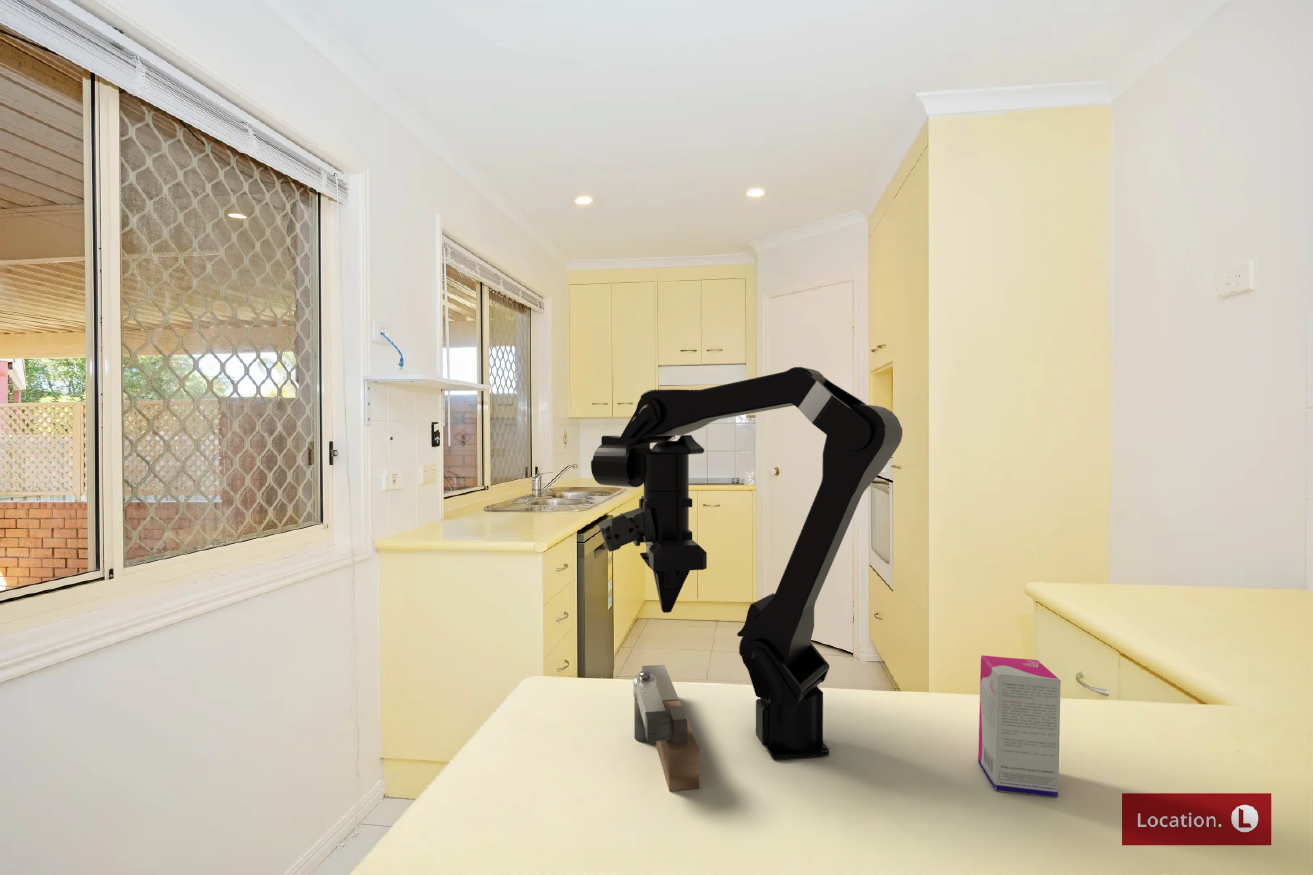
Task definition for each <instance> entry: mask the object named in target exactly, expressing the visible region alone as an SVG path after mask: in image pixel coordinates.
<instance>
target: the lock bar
mask: <svg viewBox="0 0 1313 875" xmlns="http://www.w3.org/2000/svg"><path fill="white" fill-rule="evenodd" d="M632 684H633V689H632V690H633V693H632V694H633V698H636V699H637V701H638V704H639V708H640V712H641V715H642V719H643V723H644V726H645V735H646V738H647V742H646V743H650V742H655V741H664V740H670V718H669V715H668V712H667V711H665V708H664V705H663V702H662V700H661V697H660V694H659V691H658V689H657V686H656V677H655V676H654V675H652V674H650V672H649V671H642V670H641V671H639V674H636V675H634V676H633V682H632Z"/></svg>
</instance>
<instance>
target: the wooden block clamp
mask: <svg viewBox="0 0 1313 875" xmlns="http://www.w3.org/2000/svg"><path fill="white" fill-rule="evenodd" d="M641 671H649V672H650V674H652V675H654V676H655V677H656V686H657V689H658V691H659V694H660V697H661V700H662V702H663V705H664V708H665V711H667V712H668V715H669V718H670V740H664V741H654V742H655V746H656V750H657V753H658V756H659V760H660V763H661V766H662V771H663V774H664V777H665V781H666V785H667V789H668V791H669V792H672V791H673V792H676V791H685V790H686V791H687V790H696V789H697V790H698V789H700V747H699V744H698V741H697V739H696V736H695V735H694V732H693V730H692V727H691V725H690V723H689V720H688V717H687V715H686V713H685V710H684V707H683V705H682V703H681V700H680V699H679V696H678V694H677V692H676V689H675V686H674V684H673V682H672V680H671V677H670V675H669V673H668V670H667V668H666V665H665V664H652V665H642V666H641ZM633 698H634V697H633ZM633 703H634V708H633V710H634V711H633V712H634V718H633V719H634V721H633V722H634V723H633V724H634V727H633V728H634V729H633V730H634V739H635V741H637V742H639V743H648V742H647V738H646V735H645V726H644V723H643V719H642V715H641V712H640V708H639V704H638V701H637V699H636V698H634V702H633Z"/></svg>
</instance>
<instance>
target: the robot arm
mask: <svg viewBox="0 0 1313 875" xmlns="http://www.w3.org/2000/svg"><path fill="white" fill-rule="evenodd" d="M794 406H795V407H796V408H797V409H798V410H799V411H800V413H802V414H803V416H804V417H805V418H806V419H807V420H808V421H809V422H810V423H811V424H812V425H814V427H815V428H817V429H818V430H820V431H821V432H823V434H825V435H826V436H825V440H824V441H825V442H824V446H823V449H822V450H823V451H822V468H821V470H822V472H821V473H822V478H821V482H820V485H819V487H818V490H817V492H816V494H815V497H814V498H813V501H812V503H811V506H810V509H809V511H808V513H807V516H806V519H805V520H804V524H803V525H802V529H801V530H800V533H799V536H798V538H797V541H796V542H795V545H794V547H793V549H792V553H791V554H790V557H789V560H788V562H787V565H786V567H785V568H784V571H783V573H782V577H781V579H780V581H779V584H778V586H777V588H776V591H775V592H774V593H770V594H769V595H767V596H765V597H762V598H760V599H758V600H757V601H754V602H753V603H751V604H749V605H750V606H749V608H748V609H747V612H746V619H745V622H744V624H743V626H742V628H741V629H740V630H739V631H738V632H737V634H736V635H737V637H741V639H740V642H739V645H738V654H739V656H740V657H741V660H742V662H743V664H744V666H745V668H746V669H747V671H748V674H749V678H750V681H751V684H752V687H753V691H754V693H755V696H756V697H757V699H756V700H755V735H756V737H757V739H758V740H759V741H760V743H761V745H762V746H763V747H764V748H765V751H767V754H768V755H769V756H770V758H771V759H773V760H782V759H783V760H784V759H786V760H787V759H797V758H799V759H800V758H809V757H823V756H829V755H830V748H829V747H828V746H827V745H826V743H825V742H824V692H823V691H822V690H821V689H820V688H819V685H820V684H821V683H824V682H825V681H826V678H827V675H828V673H829V670H830V664H829V662H828V661H827V660H826V659H825V658H824V657H823V656H822V654H821V653H820V652H819V651H818V649H817V648H816V647H815V645H813V643H812V642H811V641H812V638H813V637H812V636H813V633H814V628H815V606H816V602H817V600H818V598H819V594H820V592H821V591H822V588H823V586H824V583H825V581H826V579H827V576H828V575H829V572H830V570H831V567H832V565H833V563H834V561H835V559H836V556H837V553H838V551H839V550H840V546H841V545H842V542H843V540H844V537H845V535H846V533H847V531H848V528H849V527H850V524H851V521H852V519H853V517H854V514H855V512H856V509H857V508H858V506H859V503H860V500H861V498H862V497H863V494H864V492H865V491H866V490H867V489H868V488H869V487H870V485H871V484H872V483H873V482H874V480H875V479H876V478H877V477H878V476H879V475H880V473H881V472H883V469H885V467H886V465H887V464H888V463H889V461H890V459H891V458H892V457H893V455H894V454H895V452H896V451H897V449H898V448H899V446H900V444H901V442H902V439H903V428H902V425H901V423H900V420H899V418H898V416H896V414H895V413H893V411H892V410H890V409H888V408H886V407H884V406H878V405H872V404H866V403H865V402H864V401H863V400H861V399H860V398H858V397H856V395H855V396H854V394H851V393H850V392H848V391H846V390H845V389H843V388H842V387H840V386H838V385H837V384H835V383H833V382H832V381H830V380H829V379H827V377H825V376H824V375H823V374H822V373H821V372H820V371H818V370H815V369H812V368H808V367H803V366H794V367H791V368H789V369H787V370H785V371H782V372H778V373H777V372H776V373H772V374H767V375H763V376H759V377H754V378H749V379H743V380H740V381H736V382H735V381H734V382H731V383H726V384H725V383H724V384H721V385H717V386H712V387H706V388H702V389H649V390H647V391H645V392H643V393H642V394H641V395H640V398H639V401H638V402H637V405H636V409H635V411H634V412H633V415H631V418H630V420H629V422H628V423H627V425H626V426H625V428H624V430H623V431H622V433H621V435H620V436H619V435H602V436H601V444H600V445H599V446H598V447H597V448H596V449H595V451H594V453H593V456H592V460H591V461H590V469H591V474H592V477H593V479H594V480H595V482H596V483H597V484H599V485H601V486H610V487H612V486H613V487H626V488H627V487H628V488H639V487H641V486H643V495H641V497H640V498H638V507H637V508H635V509H632V510H628V511H626V512H621V513H620V514H618V515H616V516H611V517H610V518H608V519H605V520H602V521H600V522H599V523H598V527H599V530H600V534H601V536H602V539H603V541H604V543H605V544H604V545H605V546H606V547H605V548H606V549H607V551H608V552H614V551H615V552H616V551H618V550H619V549H621V547H624V546H625V545H627V544H630V543H633V545H635V547H640V546H641V544H642V543H645V552H640V553H639V555H640V557H641V559H642V560H643V562H644V563H645V564H646V566H647V567H649V569H651V570H652V572H653V573H652V574H653V577H654V581H655V586H656V591H657V595H658V600H659V604H660V609H661V611H662V613H664V614H665V613H667V614H668V613H671V612H672V610H673V609H674V607H675V604H676V601H677V599H678V597H679V595H680V593H681V591H682V588H683V586H684V584H685V581H686V580H687V577H688V576H689V574H690V572H691V571H704V570H707V564H708V563H707V561H708V555H707V554H708V553H707V551H705V549H704V548H703V547H702V546H701V545H699V544H698V543H697V542H696V541H695V540H693V531H691V530H690V529H689V528H690V523H689V522H690V521H689V520H690V516H689V515H690V513H689V510H690V509H689V508H693V498H691V497H689V496H690V493H689V492H690V490H689V489H690V488H689V487H690V486H689V485H690V483H689V482H690V480H689V476H690V475H689V474H690V473H689V471H690V469H689V466H690V462H689V457H690V456H689V455H701V454H704V453H705V448H704V447H703V446H702V445H701V444H699V443H698V442H697V441H696V440H695V438H694V437H693V436H692V435H691V434H690V433H692V432H695V431H697V430H699V429H702V428H704V427H705V426H707V425H709V424H711V423H712V422H715V421H718V420H723V419H727V418H733V417H737V416H744V415H750V414H754V413H761V412H765V411H766V412H767V411H771V410H772V411H773V410H778V409H783V408H787V407H789V408H790V407H794ZM676 436H679V438H677V440H672V439H673V438H674V437H676ZM651 444H654V445H653V446H652V448H651Z"/></svg>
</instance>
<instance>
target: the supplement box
mask: <svg viewBox="0 0 1313 875" xmlns="http://www.w3.org/2000/svg"><path fill="white" fill-rule="evenodd" d="M979 678H980V679H979V682H980V683H979V716H978V717H979V720H978V721H979V722H978V724H979V725H978V752H977V754H978V755H977V756H978V758H977V762H978V765H979V767H980V768H981V770H982V771H983V773H984V774H985V776H986V778H987V779H988V781H989V783H990V784H991V786H992V788H993V789H994V791H995V792H1003V793H1014V794H1021V795H1022V794H1023V795H1032V796H1039V797H1047V798H1050V797H1051V798H1058V796H1059V783H1060V782H1059V780H1060V778H1059V776H1060V772H1059V771H1060V733H1061V731H1060V729H1061V727H1060V725H1061V679H1060V678H1058V677H1057V676H1056V675H1055V674H1054V673H1053V672H1052V671H1051V670H1049V668H1047V667H1046V666H1045V665H1044V664H1043V663H1042V662H1040V661H1039V659H1030V658H1029V659H1028V658H1017V657H1016V658H1014V657H1004V656H994V655H993V656H992V655H985V654H984V655H983V654H982V655H981V656H980V675H979Z"/></svg>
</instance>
